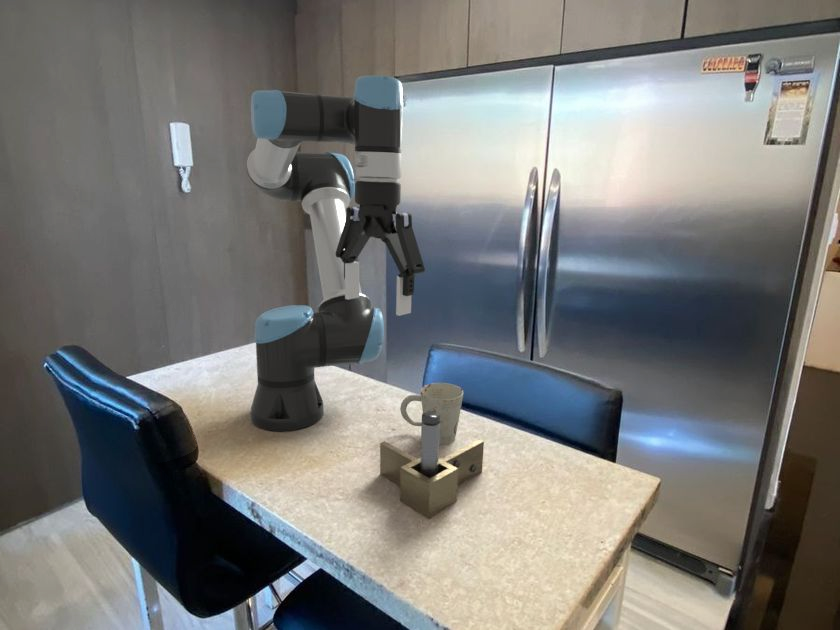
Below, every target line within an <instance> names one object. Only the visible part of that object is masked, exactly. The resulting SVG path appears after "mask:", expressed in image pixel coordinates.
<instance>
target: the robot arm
mask: <svg viewBox="0 0 840 630" xmlns="http://www.w3.org/2000/svg"><path fill="white" fill-rule="evenodd" d="M353 91H354V93H353V96H342V95H341V96H339V95H326V94H313V93H302V92H294V91H293V92H292V91H283V90H278V89H272V90H266V89H265V90H261V89H260V90H254V92H253V93H252V94H251V96H250V119H251V120H250V121H251V130H252V133H253V135H254V136H255V137H256V138H257V140H256V145H255V148H254V149H252V151H251V152H250V154H249V155H248V158H247V162H246V174H247V177H248V179H249V181H250V183H251V184H252V185H253V187H254V188H256V189H257V190H258V191H259V192H261V193H262V194H265V195H266V196H267V197H270V198H271V199H272V198H273V199H274V200H278V201H282V202H283V201H284V202H301V203H300V204H301V207H302V209H303V211H304V212H305V213H307V214H308V215H309V218H310V223H311V231H312V236H313V243H314V248H315V256H316V260H317V267H318V273H319V279H320V284H321V292H322V299H323V300H322V301H321V302H320V303H319V304H318V306H317V310H318V312H314V310H313V309H312V307H311V306H309V305H306V304H305V305H304V304H300V305H297V304H292V305H285V306H280V307H275V308H272V309H270V310H267V311H265V312H263V313H261V314H260V315H259V316H258V317H257V318H256V321H255V323H254V338H253V340H254V343H255V353H256V372H257V373H256V374H257V386H256V389H255V393H254V396H253V400H252V402H251V403H252V404H251V407H250V419H251V422H252V423H253V425H255V427H258V428H260V429H263V430H268V431H271V432H272V431H275V432H287V431H295V430H301V429H305V428H308V427H310V426H313V425H314V424H316V423H318V422H319V421H320V420H321V419H322V418H323V416H324V413H325V412H324V407H325V406H324V401H323V398H322V396H321V393H320V391H319V387H318V385H317V383H316V379H315V368H321V367H333V366H334V367H335V366H344V365H352V364H356V365H357V364H358V365H359V364H361V363H365V362H366V363H367V362H371V361H374V360H376V359H377V358H378V357H379V355H380V354H381V352H382V349H383V343H384V336H385V335H384V332H385V329H384V328H385V326H384V325H385V324H384V323H385V322H384V315H383V313H382V311H381V309H380V308H378V307H372V304H371V300H370V298H369V296H367V295H365V294H364V293H363V292H362V288H361V284H360V262H359V261H360V260H359V255H360V254H361V253H362V251H363V249H364V248H365V246H366V245H367V243H368V241H369V239H370V238H371V237H372V238H375V239H380V240H381V242H382V243H384V244H385V245H386V247H387V249H388V251H389V254H390V255H391V257H392V259H393V262H394V263H395V266H396V267H397V269H398V271H399V274H398V275H397V276H396V301H395V303H396V305H395V315H396V316H399V317H400V316H403V315H407V314H411V313H412V296H413V295H414V293H415V289H414V288H415V276H416V275H419V274H423V273H424V272H425V265H424V261H423V258H422V255H421V252H420V249H419V245H418V243H417V239H416V236H415V235H416V234H415V232H414V230H413V220H412V219H413V218H412V217H413V216H412V214H411V213H410V212H400V213H398V212H397V207H398V206H399V205H400V204H401V195H402V193H401V190H402V189H401V186H402V184H401V183H400V182H398V179H401V178H402V143H403V140H402V137H403V109H404V104H405V103H404V101H403V100H404V99H403V84H402V81H400V80H399V79H398V78H396V77H392V76H387V75H362V76H359V77H358V78H356V80H355V83H354V90H353ZM302 142H323V143H340V144H349V145H353V146H354V159H355V160H354V170H353V167H352V164H351V162H350V160H349V159H348V157H346V155H344V154H342V153H335V152H331V151H324V152H313V151H312V152H311V151H298V150H299V148H300V146H301V143H302ZM355 177H356V178H358V180H356V181H355V180H354V179H355ZM353 199H354V202H355V203H356V204H357V205H359V206H356V207H355V206H353V207H349V205H350V203H351V201H352V200H353Z"/></svg>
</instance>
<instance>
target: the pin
mask: <svg viewBox="0 0 840 630" xmlns="http://www.w3.org/2000/svg"><path fill="white" fill-rule="evenodd" d="M421 422H422V426H421V434H420V436H421V437H420V457H421V464H420V473H421V474H423V475H425V476H426V477H428V478H431V477H433V476H435V475H437V474H438V460H439V459H440V458H439V456H440V455H439V453H440V444H439V434H440V415H439V414H438V413H436V412H425V413H423V412H422V413H421Z"/></svg>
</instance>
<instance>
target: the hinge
mask: <svg viewBox="0 0 840 630" xmlns="http://www.w3.org/2000/svg"><path fill="white" fill-rule="evenodd" d="M484 443H485V442H484V440H482V439H476V440H474V442H472V443H469V444H467V445H466V446H464V447H462V448H460V449H457V450H456V451H454V452H452V453H451V454H448V455H446V456H445V457H443V458H439V460H438V474H437V475H435V476H433V477H431V478H428V477H426V476H425V475H423V474H421V473H420V464H421V456H420V457H418V458H416V457H414V456H412V455H411V454H409V453H408V452H405V451H404V450H402V449H400V448H398V447H397V446H395V445H393V444H391V443H389V442H387V441H385V440H384V441H381V442H380V443H379V458H380V459H379V475H381V476H382V477H384V478H386V479H387V480H389V482H390V481H391V483H393V484H394V485H395V484H396V485H397V486H399V487H400V488H399V501H400V502H401V503H403V504H404V505H406V506H408V507H409V508H411V509H412V510H413V511H416V512H417V513H418V514H420V515H422V516H423V517H425V518H426V519H427V520H430V519H431V518H433V517H434V516H437V515H438V514H439V513H441V512H442V511H444V510H446V509H448V508H449V507H451V506H452V505H454V504H455V503H457V497H458V496H457V495H458V487H459V486H460V485H462V484H464V483H466V482H467V481H469V480H471V479H472V478H474V477H476V476H477V475H480V473H483V463H484V461H483V460H484V458H483V457H484V448H485V447H484V446H485V445H484Z"/></svg>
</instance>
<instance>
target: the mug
mask: <svg viewBox="0 0 840 630" xmlns="http://www.w3.org/2000/svg"><path fill="white" fill-rule="evenodd" d="M463 398H464V390H463V389H462V388H461V387H460V386H458V385H456V384H453V383H447V382H432V383H429V384H425V385H424V386H422V387H421V389H420V394H409V395H408V396H406V397H405V398H404V399H403V400H402V402H401V404H400V409H399V410H400V413H401V417H402V418H403V419H404V421H406V423H408V424H410V425H412V426H414V427H422V421H415V420H413V419H412V418H411V417H410V415H409V414H408V412H407V408H408V406H409V404H410V403H411V402H421V409H422V410H421V411H422V414H423V413H425V412H436V413H438V414H439V415H440V434H439V445H445V444H446V445H448V444H450V443H453V442H454V441H455V439H456V437H457V431H458V425H459V421H460V414H461V410H462V405H463V404H462V403H463V400H464V399H463Z"/></svg>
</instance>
